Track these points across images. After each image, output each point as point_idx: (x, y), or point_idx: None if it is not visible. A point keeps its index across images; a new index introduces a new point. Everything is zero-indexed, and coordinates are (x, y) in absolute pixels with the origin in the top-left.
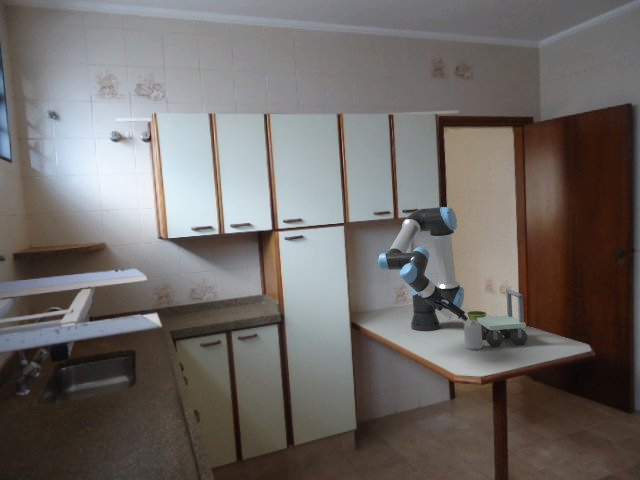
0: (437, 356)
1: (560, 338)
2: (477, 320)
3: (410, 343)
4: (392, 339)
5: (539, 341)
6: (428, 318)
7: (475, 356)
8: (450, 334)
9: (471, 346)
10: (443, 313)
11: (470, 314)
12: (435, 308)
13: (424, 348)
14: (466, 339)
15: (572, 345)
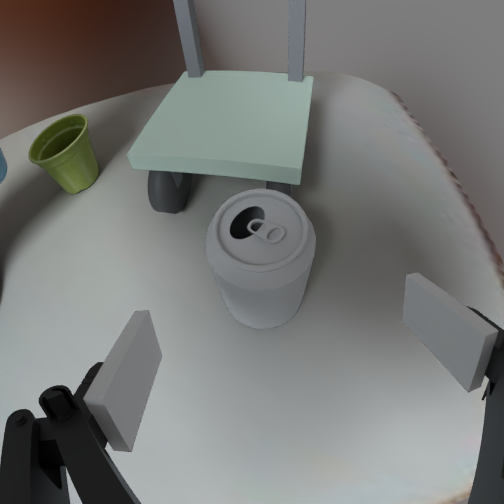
0: (308, 496)
1: None
2: (132, 164)
3: None
4: None
5: None
6: None
7: (375, 343)
8: (58, 279)
9: (293, 313)
10: (139, 416)
11: (37, 155)
12: (62, 470)
13: (164, 491)
14: (269, 316)
15: (342, 83)
